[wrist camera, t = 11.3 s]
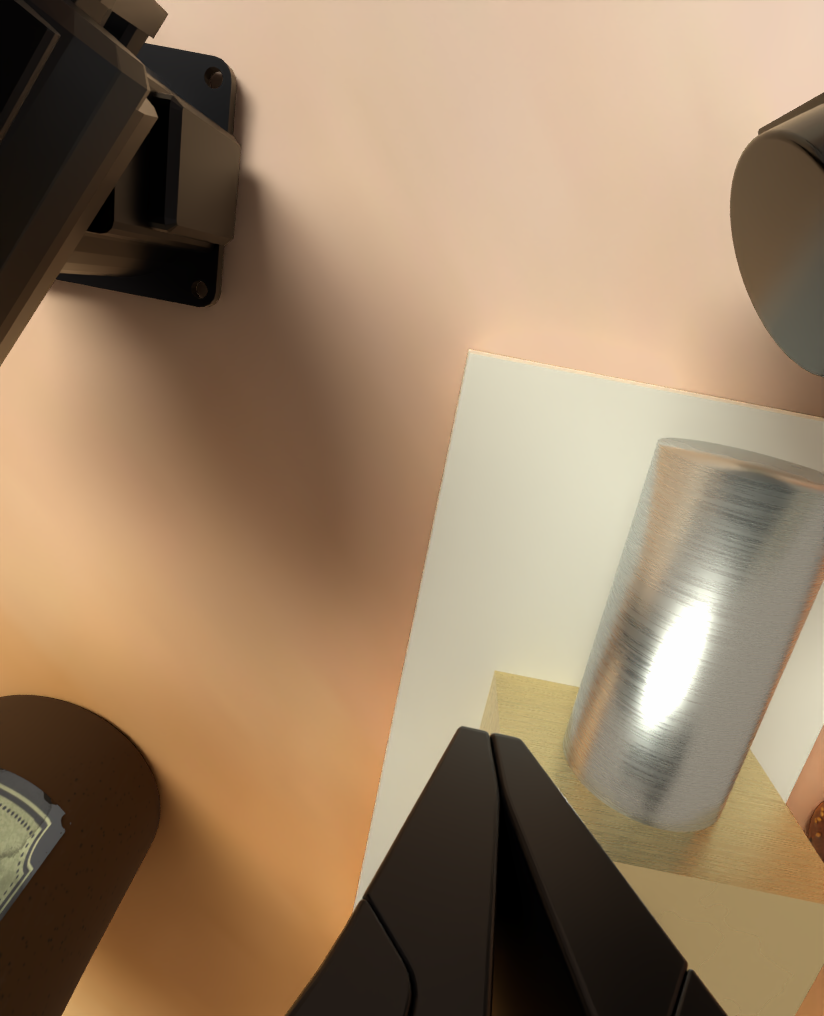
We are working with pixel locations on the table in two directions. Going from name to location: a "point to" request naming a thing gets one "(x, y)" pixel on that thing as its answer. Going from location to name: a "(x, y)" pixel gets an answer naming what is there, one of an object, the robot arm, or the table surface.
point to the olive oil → (63, 844)
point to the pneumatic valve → (784, 230)
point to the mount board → (559, 556)
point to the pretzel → (817, 831)
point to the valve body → (697, 718)
